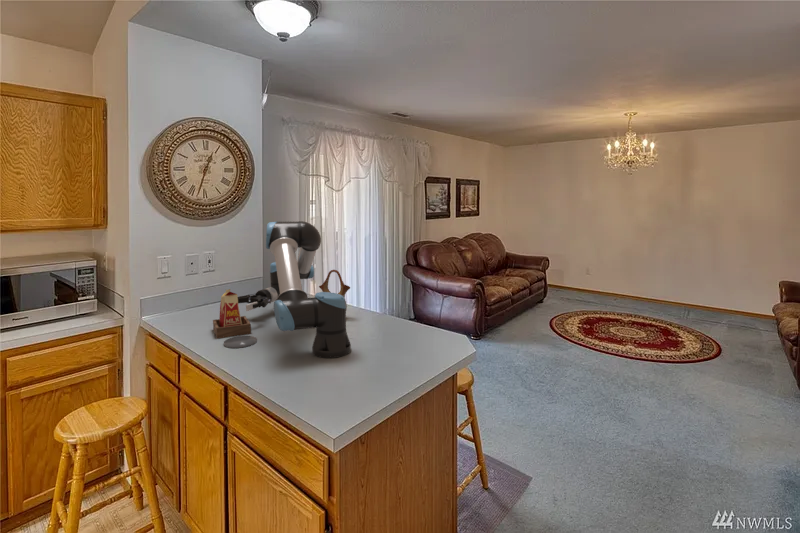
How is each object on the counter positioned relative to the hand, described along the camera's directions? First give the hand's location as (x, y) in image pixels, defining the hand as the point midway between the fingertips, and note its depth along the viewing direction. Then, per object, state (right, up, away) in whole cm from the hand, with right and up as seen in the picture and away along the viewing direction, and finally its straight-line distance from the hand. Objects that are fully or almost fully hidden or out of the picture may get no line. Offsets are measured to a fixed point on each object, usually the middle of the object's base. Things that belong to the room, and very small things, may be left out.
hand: (234, 306), depth 190 cm
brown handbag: (+43, -8, +20) cm, 47 cm away
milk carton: (-1, -11, 0) cm, 11 cm away
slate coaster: (+9, -14, -15) cm, 22 cm away
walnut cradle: (-1, -11, -1) cm, 11 cm away
